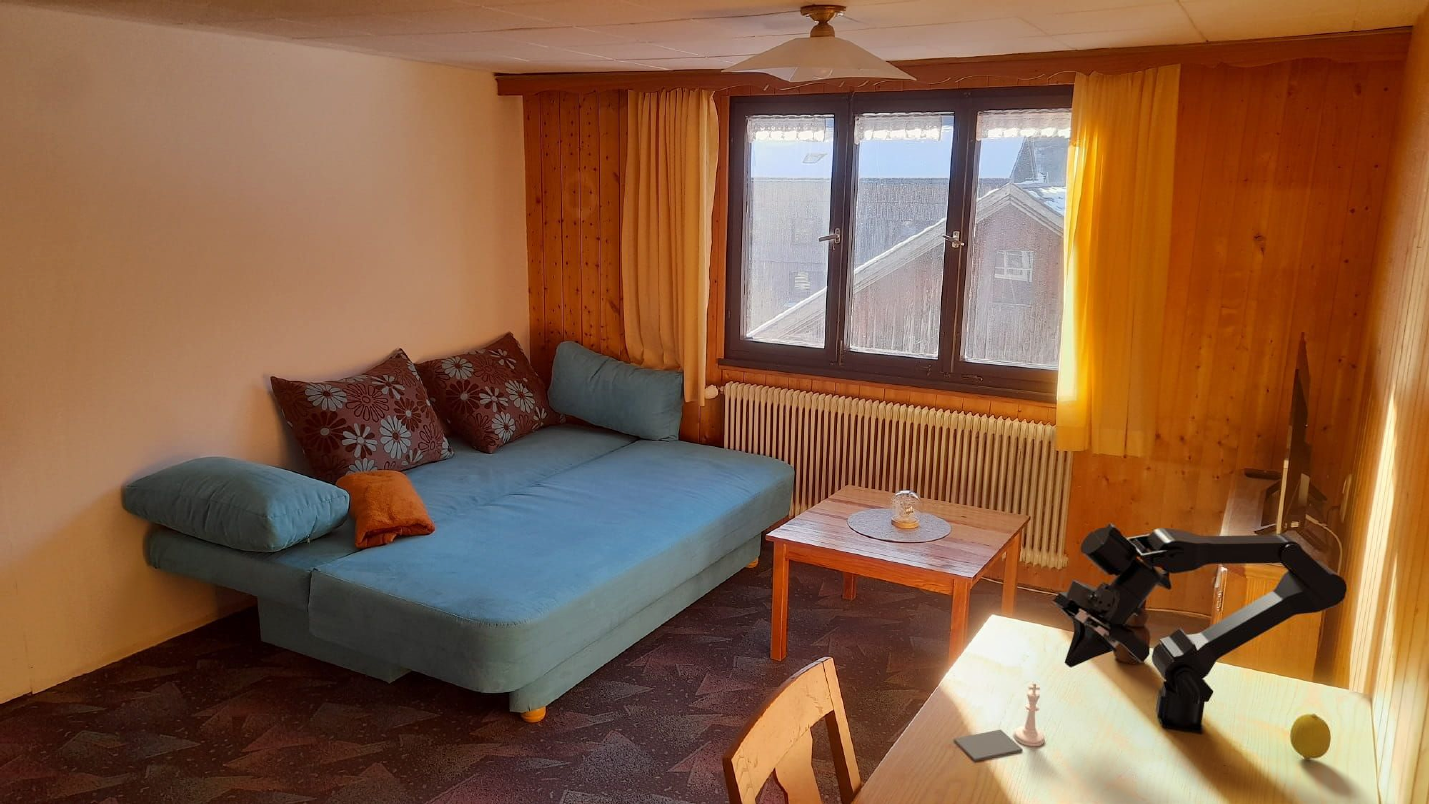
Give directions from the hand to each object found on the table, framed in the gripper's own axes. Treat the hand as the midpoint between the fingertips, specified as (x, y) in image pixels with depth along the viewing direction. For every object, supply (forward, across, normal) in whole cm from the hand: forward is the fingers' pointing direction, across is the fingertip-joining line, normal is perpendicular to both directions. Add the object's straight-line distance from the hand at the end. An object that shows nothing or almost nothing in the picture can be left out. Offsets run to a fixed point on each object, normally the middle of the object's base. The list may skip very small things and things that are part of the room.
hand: (1067, 665), depth 166 cm
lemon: (-13, +16, +34) cm, 40 cm away
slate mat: (+19, 0, -2) cm, 19 cm away
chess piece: (+13, 0, +4) cm, 14 cm away
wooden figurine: (-10, -19, +28) cm, 36 cm away
